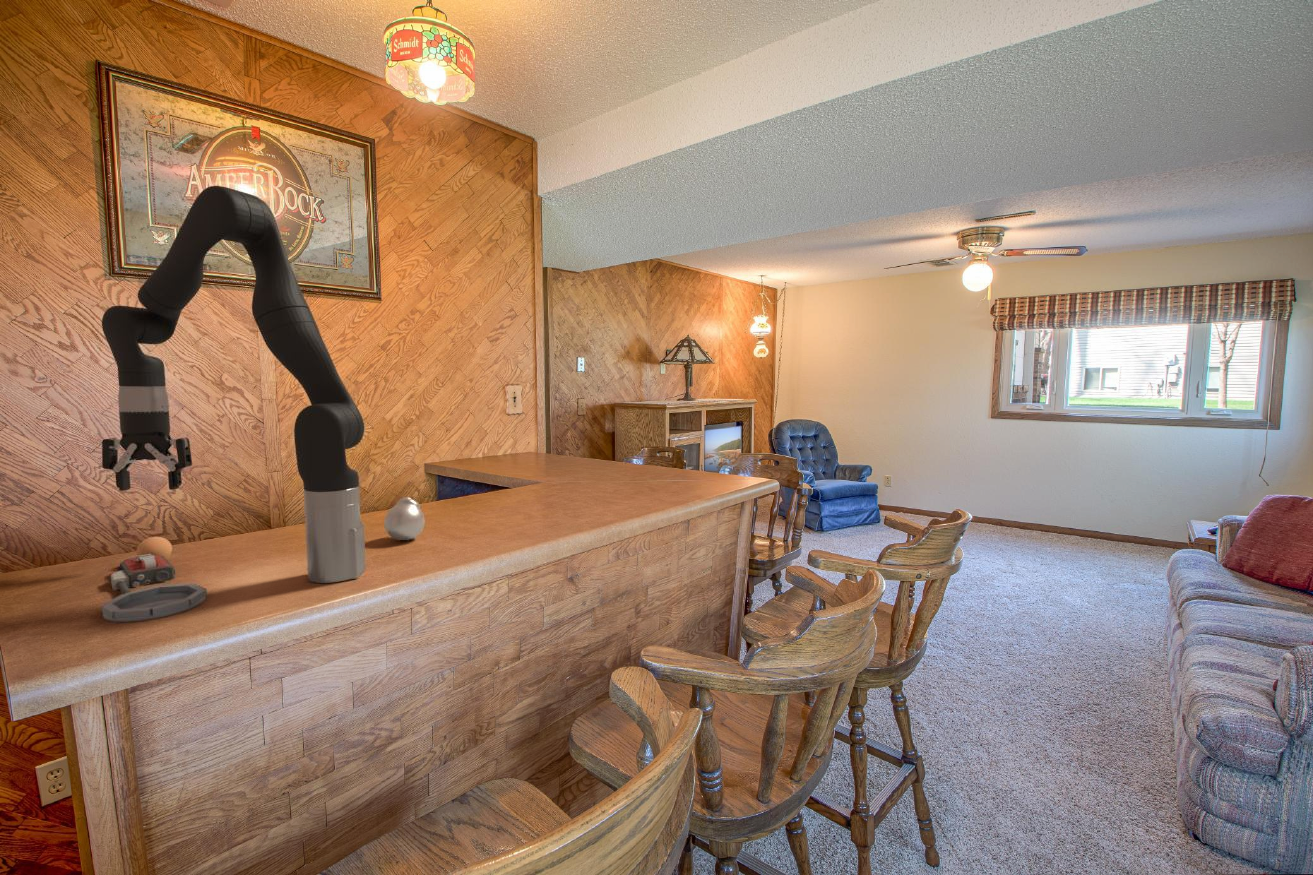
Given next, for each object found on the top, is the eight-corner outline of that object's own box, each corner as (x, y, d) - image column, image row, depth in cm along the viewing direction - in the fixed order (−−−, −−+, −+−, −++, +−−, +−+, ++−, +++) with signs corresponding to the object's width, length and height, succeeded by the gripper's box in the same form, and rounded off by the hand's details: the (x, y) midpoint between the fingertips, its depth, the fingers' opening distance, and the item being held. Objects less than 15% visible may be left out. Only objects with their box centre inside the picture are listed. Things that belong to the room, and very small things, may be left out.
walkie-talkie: (104, 577, 112) (120, 604, 99) (102, 554, 112) (118, 578, 99) (163, 566, 119) (185, 590, 106) (161, 545, 118) (183, 566, 105)
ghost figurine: (435, 537, 142) (434, 496, 141) (403, 547, 133) (402, 503, 132) (408, 532, 145) (406, 493, 144) (375, 542, 137) (374, 500, 136)
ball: (178, 558, 123) (177, 533, 122) (162, 566, 117) (161, 540, 117) (148, 560, 122) (146, 534, 121) (130, 568, 116) (128, 541, 116)
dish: (221, 589, 105) (220, 581, 105) (179, 618, 92) (178, 608, 92) (136, 594, 102) (135, 586, 102) (81, 625, 90) (80, 615, 89)
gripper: (88, 410, 111) (94, 494, 113) (174, 410, 114) (179, 492, 116) (115, 408, 119) (121, 487, 120) (195, 408, 122) (200, 485, 123)
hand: (150, 489), depth 118 cm, fingers open, 8 cm apart
